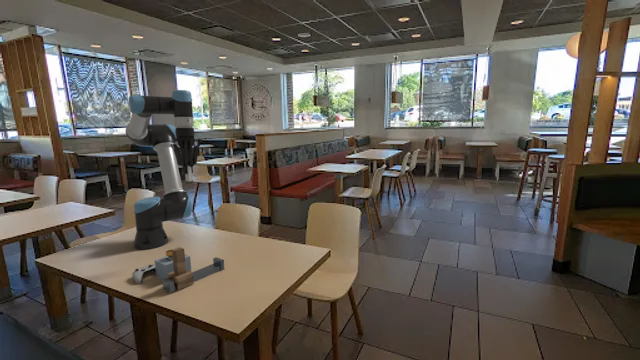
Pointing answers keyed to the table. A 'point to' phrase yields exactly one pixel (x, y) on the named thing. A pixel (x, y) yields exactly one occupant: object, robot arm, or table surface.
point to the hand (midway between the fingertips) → (189, 180)
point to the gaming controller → (142, 273)
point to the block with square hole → (168, 266)
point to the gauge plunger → (169, 255)
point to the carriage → (180, 270)
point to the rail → (196, 274)
